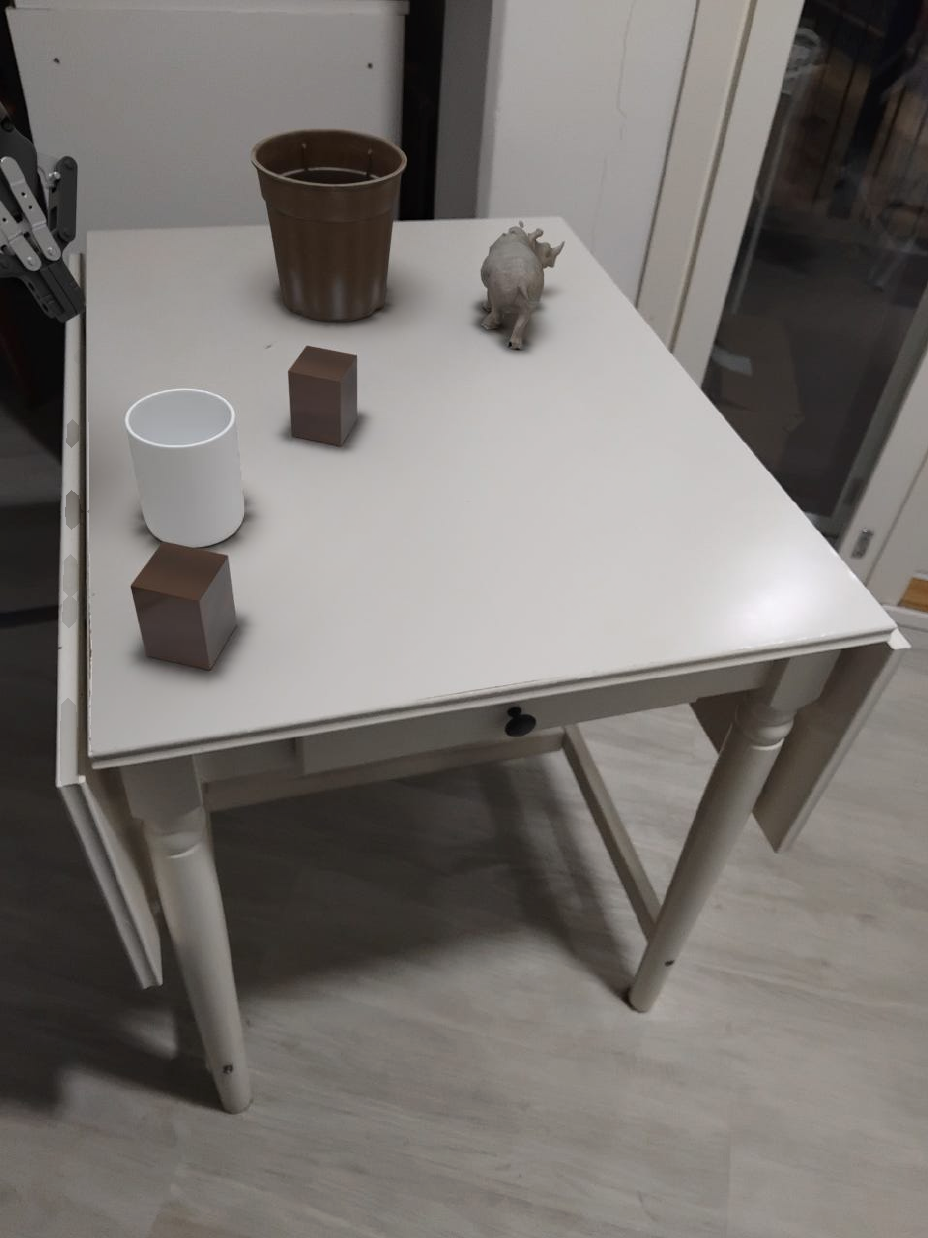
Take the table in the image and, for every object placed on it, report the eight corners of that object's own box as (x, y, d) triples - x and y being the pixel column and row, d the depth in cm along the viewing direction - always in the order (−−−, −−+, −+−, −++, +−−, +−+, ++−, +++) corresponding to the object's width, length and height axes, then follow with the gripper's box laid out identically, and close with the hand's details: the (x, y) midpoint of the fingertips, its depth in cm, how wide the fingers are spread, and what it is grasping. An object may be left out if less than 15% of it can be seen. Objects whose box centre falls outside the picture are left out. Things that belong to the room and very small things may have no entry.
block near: (210, 670, 69) (198, 601, 64) (145, 655, 69) (129, 585, 64) (237, 624, 72) (228, 555, 67) (175, 610, 73) (162, 540, 68)
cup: (151, 557, 77) (130, 453, 70) (135, 471, 84) (115, 370, 77) (253, 541, 79) (243, 439, 72) (229, 459, 87) (217, 360, 80)
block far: (341, 446, 90) (340, 381, 85) (291, 436, 90) (287, 370, 85) (357, 418, 93) (357, 354, 88) (309, 409, 94) (306, 345, 89)
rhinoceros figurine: (454, 327, 103) (495, 187, 100) (467, 346, 116) (504, 222, 114) (522, 348, 102) (565, 207, 100) (528, 364, 116) (566, 240, 113)
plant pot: (284, 341, 103) (275, 189, 92) (245, 276, 113) (232, 132, 102) (422, 322, 108) (430, 176, 97) (373, 261, 119) (375, 123, 107)
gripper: (-174, 85, 56) (13, 353, 64) (17, 17, 62) (164, 268, 70) (-192, 124, 61) (-19, 366, 69) (-16, 58, 68) (124, 286, 76)
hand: (73, 316), depth 70 cm, fingers closed
